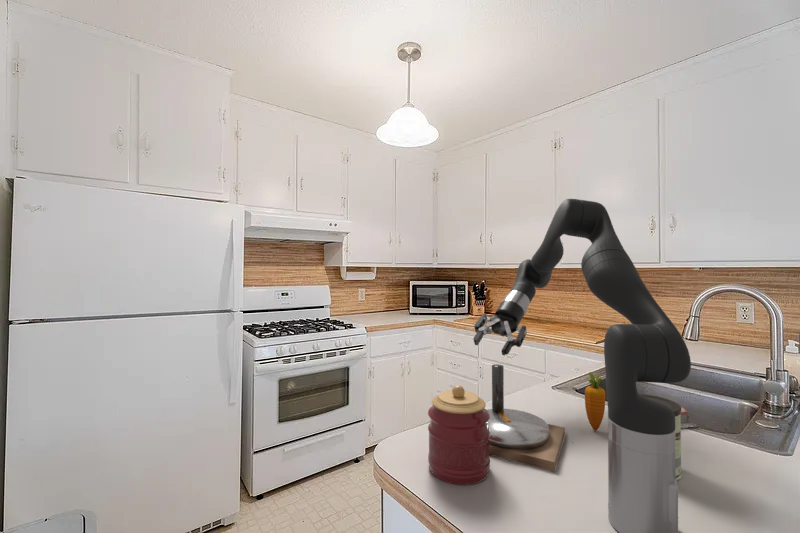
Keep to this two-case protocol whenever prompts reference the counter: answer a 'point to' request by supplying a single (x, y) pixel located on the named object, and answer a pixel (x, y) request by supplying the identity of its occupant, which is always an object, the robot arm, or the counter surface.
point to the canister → (459, 437)
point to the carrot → (595, 402)
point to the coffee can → (677, 412)
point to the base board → (535, 451)
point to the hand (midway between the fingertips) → (488, 348)
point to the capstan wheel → (512, 420)
